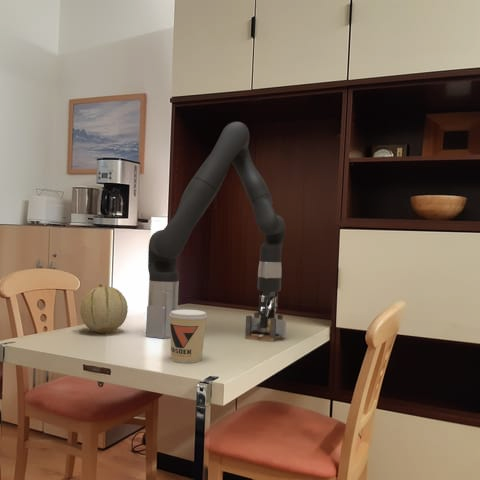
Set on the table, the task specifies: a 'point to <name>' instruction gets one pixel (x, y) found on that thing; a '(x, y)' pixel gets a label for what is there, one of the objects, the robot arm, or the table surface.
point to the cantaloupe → (103, 309)
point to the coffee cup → (187, 335)
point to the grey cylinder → (268, 327)
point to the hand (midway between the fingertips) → (267, 326)
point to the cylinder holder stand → (262, 337)
